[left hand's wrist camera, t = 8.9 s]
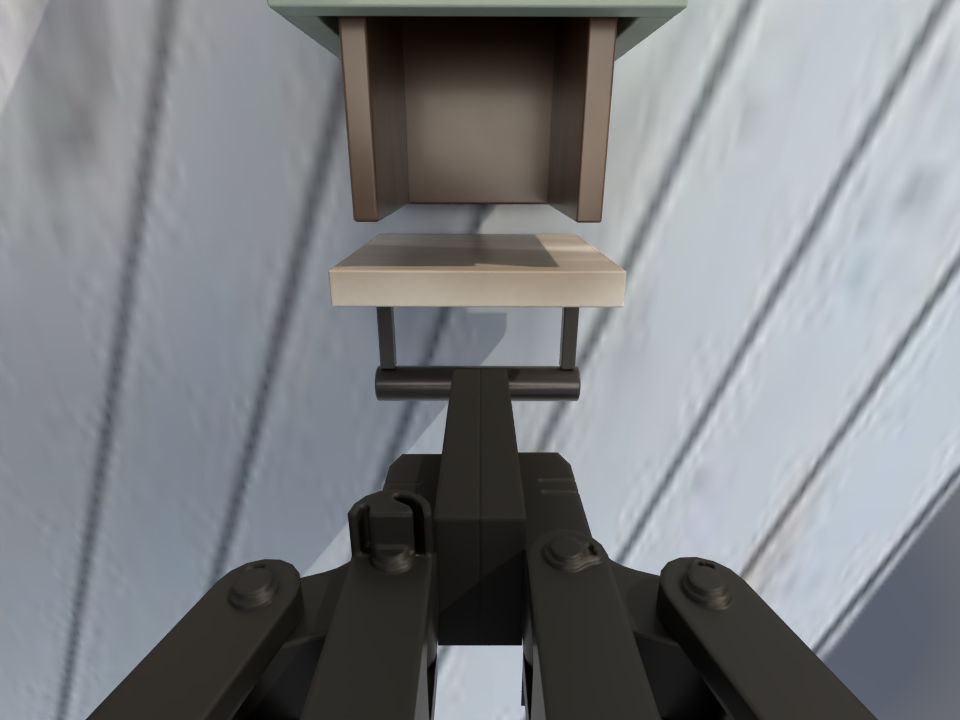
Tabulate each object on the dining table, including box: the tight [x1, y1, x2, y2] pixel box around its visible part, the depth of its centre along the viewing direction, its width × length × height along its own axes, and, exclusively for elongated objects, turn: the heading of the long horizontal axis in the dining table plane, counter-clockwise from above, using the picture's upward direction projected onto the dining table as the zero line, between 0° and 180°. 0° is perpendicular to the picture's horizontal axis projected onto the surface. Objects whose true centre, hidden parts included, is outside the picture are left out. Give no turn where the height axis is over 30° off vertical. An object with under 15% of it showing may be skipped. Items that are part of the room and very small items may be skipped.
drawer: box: [329, 16, 626, 401], centre depth 19 cm, size 24×10×9 cm, turn 0°
